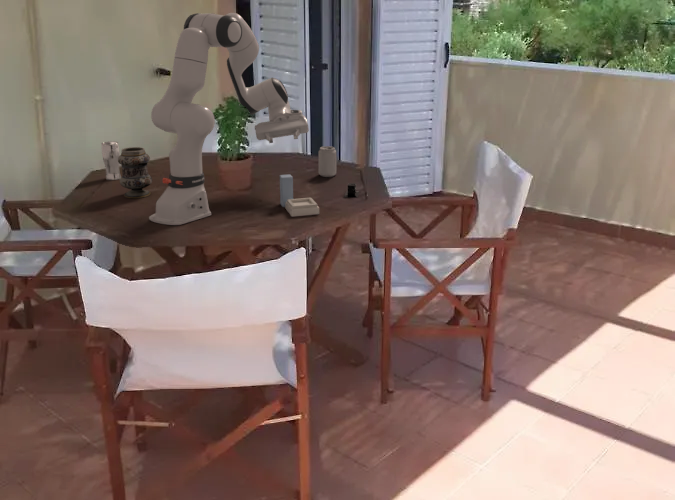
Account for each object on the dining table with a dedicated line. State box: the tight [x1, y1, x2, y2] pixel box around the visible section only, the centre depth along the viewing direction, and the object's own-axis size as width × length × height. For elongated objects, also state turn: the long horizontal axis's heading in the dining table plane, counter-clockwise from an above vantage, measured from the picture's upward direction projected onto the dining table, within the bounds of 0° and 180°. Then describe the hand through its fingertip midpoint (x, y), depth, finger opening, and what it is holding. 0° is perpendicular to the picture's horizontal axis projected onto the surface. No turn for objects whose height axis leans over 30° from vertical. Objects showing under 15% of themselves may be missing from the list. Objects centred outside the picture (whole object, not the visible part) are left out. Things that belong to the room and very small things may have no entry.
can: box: [318, 145, 337, 178], centre depth 312 cm, size 8×8×12 cm
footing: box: [284, 197, 320, 217], centre depth 266 cm, size 10×10×4 cm
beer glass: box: [101, 140, 122, 181], centre depth 307 cm, size 7×7×15 cm
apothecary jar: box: [118, 146, 153, 199], centre depth 283 cm, size 12×12×18 cm
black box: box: [343, 182, 360, 199], centre depth 286 cm, size 12×7×5 cm, turn 173°
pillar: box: [279, 173, 294, 208], centre depth 272 cm, size 4×4×11 cm
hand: (283, 139), depth 278 cm, fingers open, 8 cm apart
